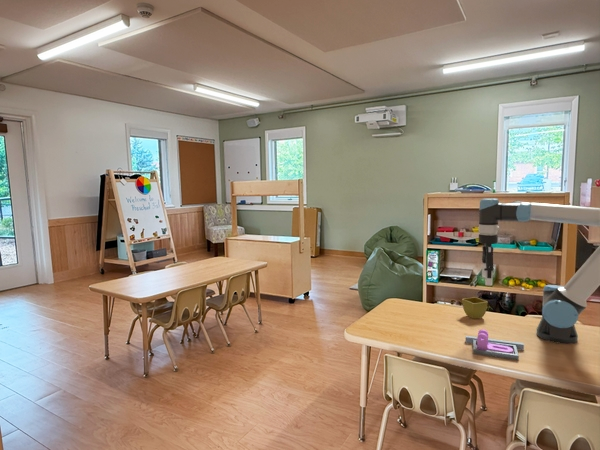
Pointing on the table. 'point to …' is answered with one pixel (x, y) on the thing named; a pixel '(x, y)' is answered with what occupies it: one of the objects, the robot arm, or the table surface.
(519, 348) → the door edge
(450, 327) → the table surface
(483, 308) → the flower pot
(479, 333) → the bracket
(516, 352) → the shallow rectangular tray
